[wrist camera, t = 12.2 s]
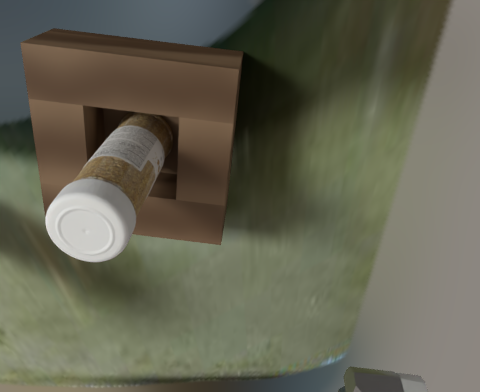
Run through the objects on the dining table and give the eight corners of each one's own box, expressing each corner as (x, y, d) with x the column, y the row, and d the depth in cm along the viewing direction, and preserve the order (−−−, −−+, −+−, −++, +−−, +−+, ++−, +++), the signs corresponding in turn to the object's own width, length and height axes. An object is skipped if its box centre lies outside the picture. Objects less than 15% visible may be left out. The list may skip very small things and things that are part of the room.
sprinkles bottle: (161, 169, 37) (111, 277, 25) (110, 145, 36) (32, 244, 24) (183, 124, 35) (139, 218, 23) (129, 96, 34) (55, 180, 22)
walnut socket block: (53, 28, 32) (20, 42, 28) (243, 51, 32) (239, 69, 28) (70, 192, 40) (46, 223, 35) (226, 211, 40) (220, 245, 35)
